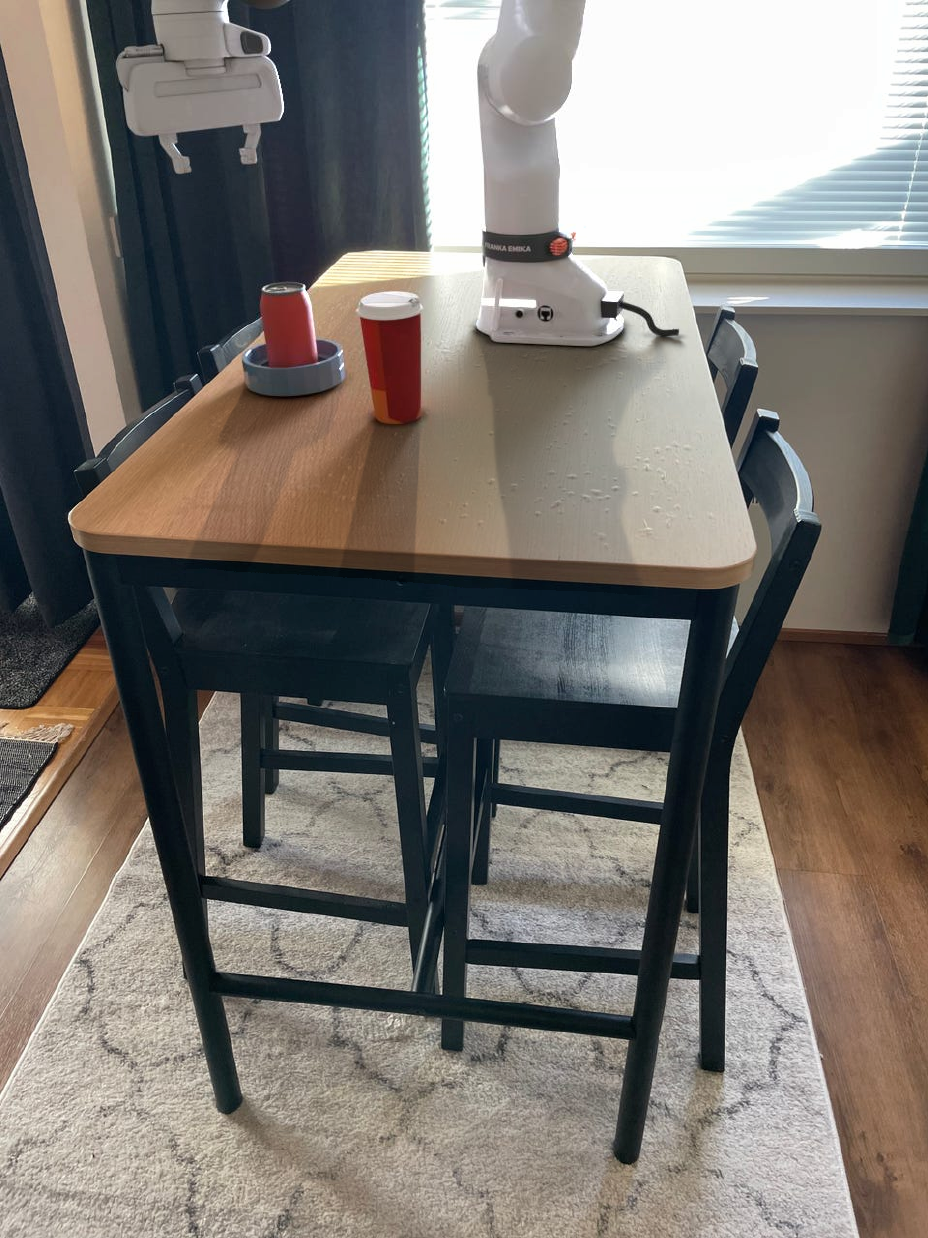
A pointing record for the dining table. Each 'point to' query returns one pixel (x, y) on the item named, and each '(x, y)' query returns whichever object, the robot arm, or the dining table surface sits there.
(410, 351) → the paper cup
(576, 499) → the dining table surface
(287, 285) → the beer can
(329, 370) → the bowl
